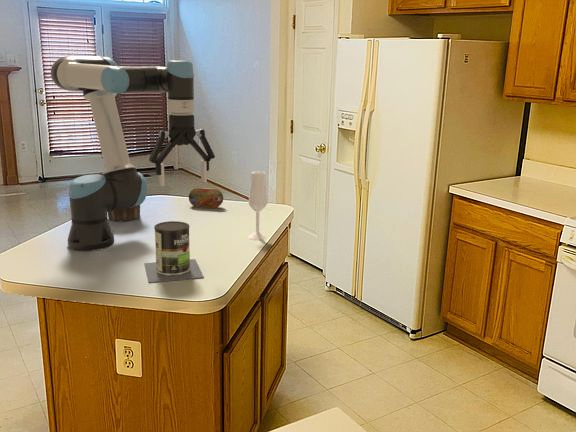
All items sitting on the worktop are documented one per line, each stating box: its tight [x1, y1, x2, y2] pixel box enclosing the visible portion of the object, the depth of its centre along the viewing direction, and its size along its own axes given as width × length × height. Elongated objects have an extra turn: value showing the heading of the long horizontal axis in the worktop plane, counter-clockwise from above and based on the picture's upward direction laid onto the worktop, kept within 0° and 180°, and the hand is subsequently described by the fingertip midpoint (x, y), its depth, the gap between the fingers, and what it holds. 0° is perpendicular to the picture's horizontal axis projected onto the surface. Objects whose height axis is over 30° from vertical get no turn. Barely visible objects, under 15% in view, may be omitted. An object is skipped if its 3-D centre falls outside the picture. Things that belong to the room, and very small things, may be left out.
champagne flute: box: [248, 170, 268, 241], centre depth 206 cm, size 7×7×24 cm
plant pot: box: [107, 204, 141, 223], centre depth 227 cm, size 16×16×16 cm
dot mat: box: [144, 258, 205, 284], centre depth 175 cm, size 16×16×1 cm
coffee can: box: [154, 220, 191, 276], centre depth 173 cm, size 10×10×14 cm
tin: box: [188, 187, 224, 209], centre depth 248 cm, size 15×3×8 cm, turn 81°
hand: (183, 183), depth 177 cm, fingers open, 13 cm apart
